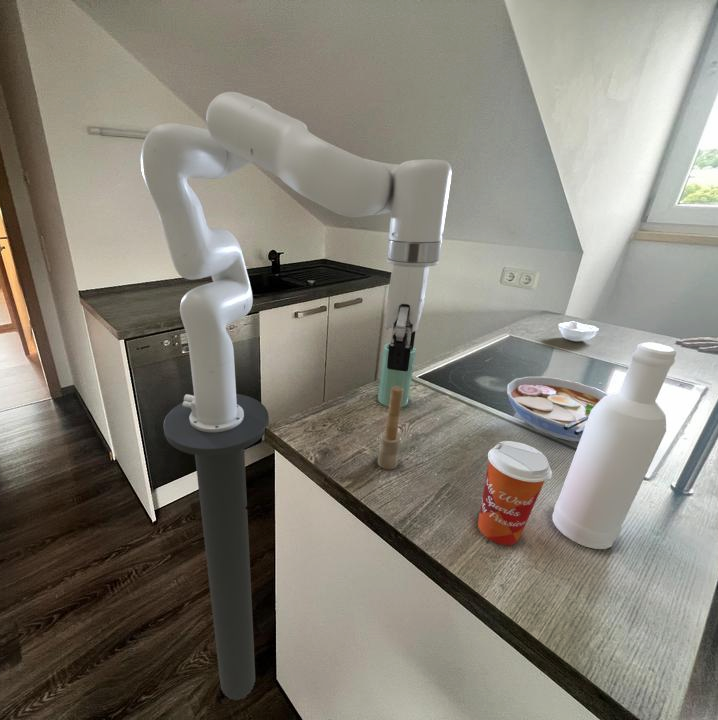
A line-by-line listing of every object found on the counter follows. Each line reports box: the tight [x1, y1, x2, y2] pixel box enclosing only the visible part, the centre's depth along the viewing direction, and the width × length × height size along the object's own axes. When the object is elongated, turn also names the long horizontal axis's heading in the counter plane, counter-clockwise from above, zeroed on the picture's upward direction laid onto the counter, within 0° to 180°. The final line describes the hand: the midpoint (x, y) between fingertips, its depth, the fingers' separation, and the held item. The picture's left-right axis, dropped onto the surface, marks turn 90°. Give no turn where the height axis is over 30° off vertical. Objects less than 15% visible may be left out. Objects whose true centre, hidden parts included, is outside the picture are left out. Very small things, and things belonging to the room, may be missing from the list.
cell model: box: [557, 320, 599, 342], centre depth 134 cm, size 10×12×7 cm
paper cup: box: [477, 440, 553, 546], centre depth 56 cm, size 8×8×14 cm
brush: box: [377, 386, 403, 470], centre depth 70 cm, size 4×4×16 cm
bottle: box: [552, 341, 677, 550], centre depth 53 cm, size 8×8×30 cm
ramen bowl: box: [506, 376, 611, 443], centre depth 82 cm, size 25×23×8 cm
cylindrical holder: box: [377, 342, 417, 408], centre depth 93 cm, size 7×7×14 cm
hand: (400, 358), depth 64 cm, fingers open, 9 cm apart
